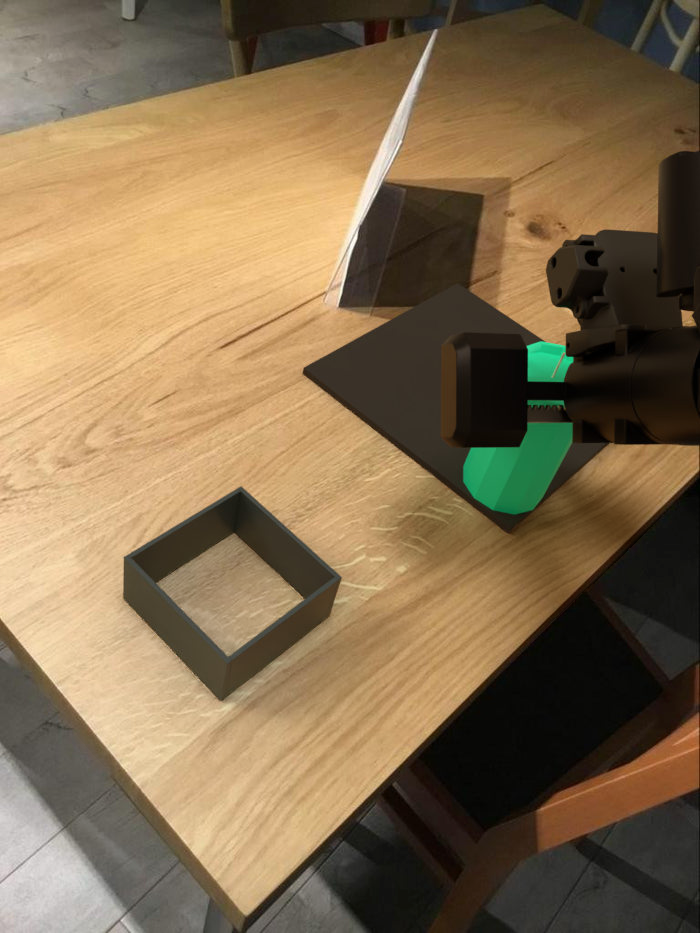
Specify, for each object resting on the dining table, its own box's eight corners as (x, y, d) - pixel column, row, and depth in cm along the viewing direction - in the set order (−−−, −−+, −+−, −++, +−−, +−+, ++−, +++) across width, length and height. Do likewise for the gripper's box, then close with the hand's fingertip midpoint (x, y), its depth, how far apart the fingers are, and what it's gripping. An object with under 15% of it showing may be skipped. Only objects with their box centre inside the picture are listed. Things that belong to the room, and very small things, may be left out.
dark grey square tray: (329, 615, 53) (342, 577, 50) (220, 701, 48) (227, 663, 45) (234, 527, 56) (241, 485, 53) (122, 598, 51) (123, 556, 48)
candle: (528, 451, 65) (591, 324, 57) (554, 514, 61) (625, 387, 53) (453, 450, 64) (505, 319, 55) (474, 514, 60) (534, 384, 51)
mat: (642, 413, 72) (645, 408, 72) (508, 533, 60) (510, 528, 60) (455, 288, 79) (457, 282, 79) (302, 373, 67) (303, 367, 67)
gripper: (838, 232, 45) (654, 280, 60) (508, 208, 40) (397, 267, 55) (833, 448, 46) (652, 442, 61) (506, 451, 41) (397, 444, 56)
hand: (531, 396), depth 58 cm, fingers open, 9 cm apart
